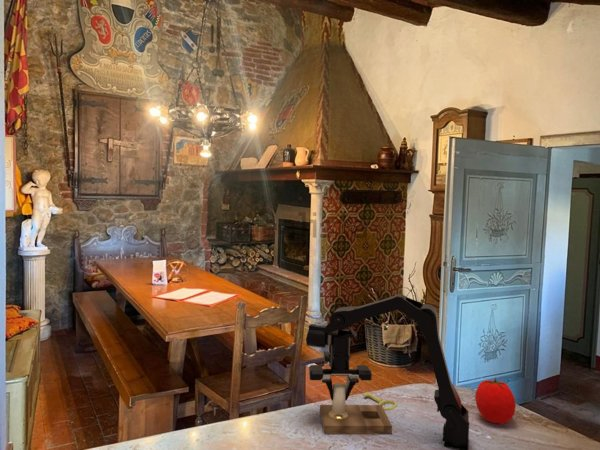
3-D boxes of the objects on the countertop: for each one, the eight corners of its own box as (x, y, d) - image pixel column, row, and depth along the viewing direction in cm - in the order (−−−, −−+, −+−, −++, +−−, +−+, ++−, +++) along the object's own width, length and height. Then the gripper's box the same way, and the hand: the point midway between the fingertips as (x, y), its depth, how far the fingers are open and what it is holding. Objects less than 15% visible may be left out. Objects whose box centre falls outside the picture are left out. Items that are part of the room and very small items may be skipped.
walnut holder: (381, 412, 153) (381, 405, 153) (391, 434, 139) (392, 425, 139) (319, 412, 152) (320, 404, 152) (324, 434, 138) (324, 425, 138)
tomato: (504, 434, 141) (506, 390, 140) (466, 418, 150) (468, 378, 149) (522, 423, 148) (524, 381, 147) (485, 409, 158) (487, 370, 157)
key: (365, 396, 166) (366, 390, 166) (398, 406, 160) (399, 399, 159) (356, 403, 160) (356, 397, 160) (390, 413, 154) (390, 407, 153)
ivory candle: (346, 409, 146) (347, 384, 146) (342, 415, 143) (343, 389, 142) (334, 407, 148) (335, 382, 147) (330, 412, 144) (331, 386, 144)
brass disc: (350, 412, 147) (350, 412, 147) (344, 420, 141) (344, 420, 141) (332, 409, 149) (332, 408, 149) (325, 417, 144) (325, 416, 144)
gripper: (365, 342, 153) (364, 389, 154) (308, 341, 152) (306, 389, 153) (372, 353, 142) (371, 404, 142) (310, 353, 141) (309, 404, 142)
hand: (339, 399), depth 145 cm, fingers closed on ivory candle, 4 cm apart
